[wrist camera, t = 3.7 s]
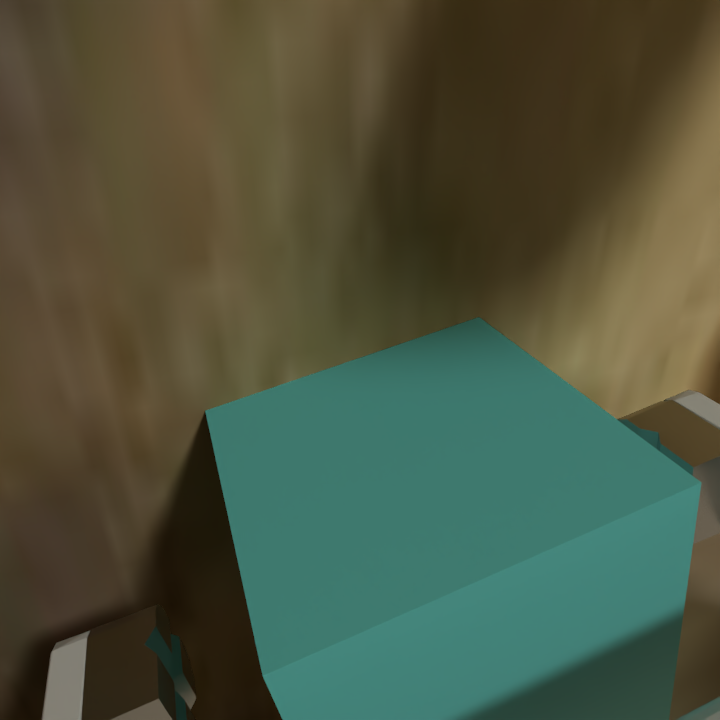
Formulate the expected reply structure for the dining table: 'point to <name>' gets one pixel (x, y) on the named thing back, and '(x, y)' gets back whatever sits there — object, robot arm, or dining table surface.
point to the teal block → (455, 540)
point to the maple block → (699, 632)
